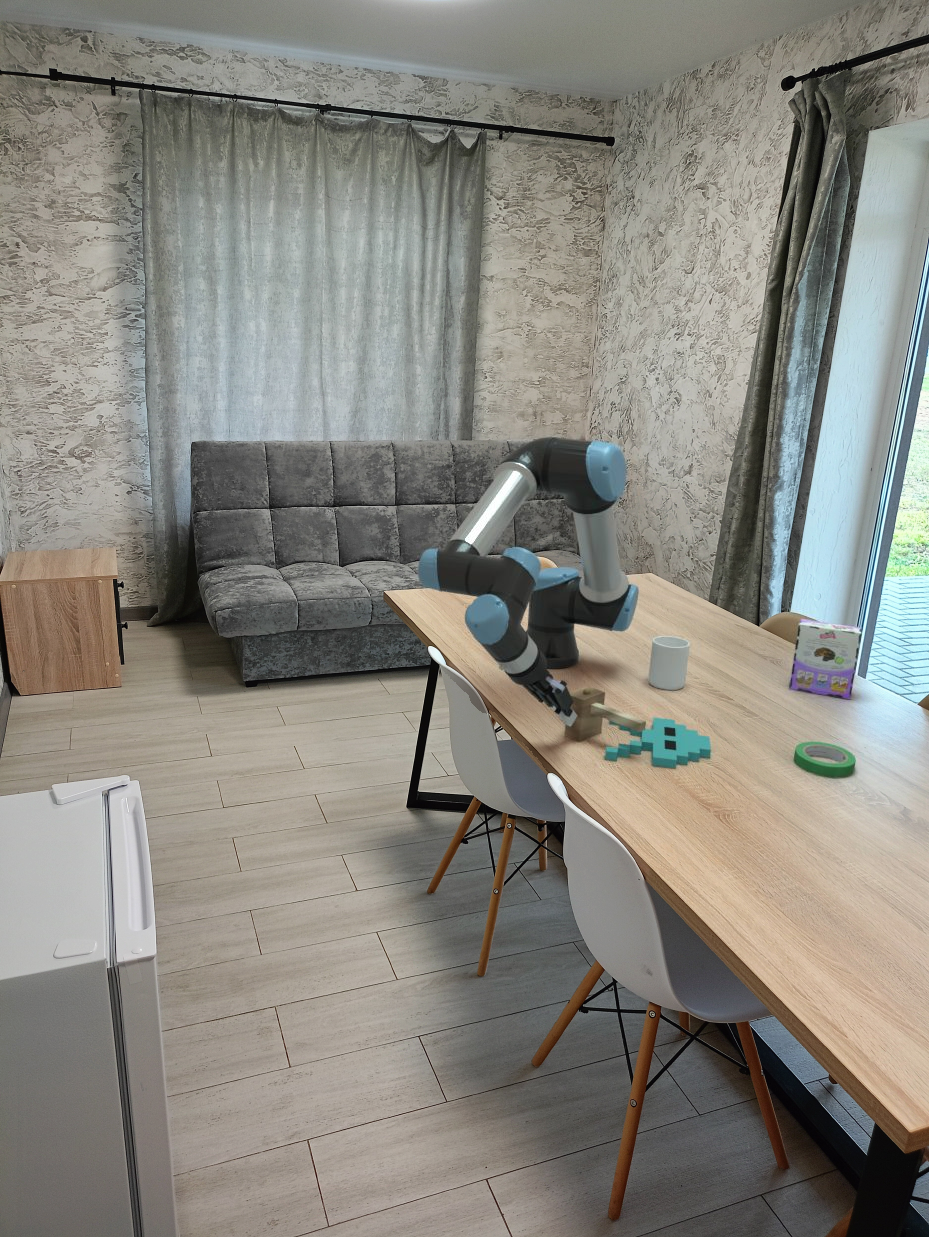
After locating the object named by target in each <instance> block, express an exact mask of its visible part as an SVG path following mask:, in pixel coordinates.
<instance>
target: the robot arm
mask: <svg viewBox="0 0 929 1237" xmlns="http://www.w3.org/2000/svg"><path fill="white" fill-rule="evenodd" d="M626 473H627V464H626V459H625V455H624V453H623V451H622V449H621V448H620V447H619V445H617V444H616V443H611V442H606V441H605V442H604V441H603V440H585V439H573V438H561V437H554V436H553V437H551V436H547V437H540V438H537V439H533V440H531V441H529V442H526V443H524V444H523V445H521V446H519V447H518V448H516V449H514V450H513V451H512V452H510V453H509V454H508V455H507V456H506V457H505V458H504V459H502V461H501V462H500V463H499V465H498V466H497V467H496V469H495V471H494V473H493V481H492V482H491V484H490V485H489V486H488V487H487V489H486V490H485V492H484V493H483V495H481V497H480V498H479V500H478V501H477V503H476V504H474V506H473V508H472V510H471V511H470V512H469V513H468V515H467V516H466V517H465V519H464V520H463V522H462V523H461V524H460V526H458V528H457V530H456V531H455V533H454V534H453V535H452V537H451V538H450V540H449V541H448V542H447V543H446V544H445V545H444V547H443V548H442V549H440V548H428V549H426V550H425V551H423V553H422V554H421V556H420V559H419V562H418V567H417V575H418V576H417V577H418V578H419V579H418V580H419V583H421V585H422V586H423V587H425V588H427V589H431V590H434V591H439V592H443V593H448V594H449V593H451V594H458V595H463V596H470V597H476V598H475V599H474V600H473V601H472V603H471V604H469V605H468V606H467V607H466V610H465V613H464V623H465V625H466V627H467V628H468V631H469V632H470V634H472V636H473V638H474V640H476V641H477V642H478V644H480V645H481V646H482V647H483V649H485V651H486V652H487V653H488V654H489V655H490V656H491V658H493V660H494V661H495V662H496V664H498V669H499V670H501V671H504V672H505V674H506V675H507V676H508V677H509V679H510V680H511V681H512V682H513V683H514V684H516V685H518V686H522V687H523V688H524V689H525V690H527V692H528V693H530V695H531V696H533V698H535V699H536V700H537V701H538V702H539V703H542V704H543V703H544V704H545V705H546V706H547V707H548V708H551V709H552V712H554V713H555V715H556V716H557V717H558V718H559V719H560V720H561V722H562V723H563V724H564V725H568V726H570V727H571V726H572V724H573V722H574V721H575V719H576V717H577V716H578V715H577V714H576V713H575V712H574V710H573V709H572V708H571V705H572V704H573V702H574V701H573V699H572V697H571V695H570V693H571V692H570V691H569V689H568V687H567V686H568V684H567V682H566V681H565V680H561V681H560V680H558V681H556V680H555V679H554V676H553V674H551V672H550V671H549V670H548V669H564V668H570V667H573V666H575V665H577V664H578V663H579V660H580V659H579V658H580V651H579V648H578V644H577V640H576V635H575V625H580V626H586V627H589V628H595V629H600V630H605V631H610V632H612V631H614V632H621V633H622V632H625V631H627V630H628V629H629V628H630V626H631V624H632V622H633V619H634V615H635V612H636V608H637V604H638V600H639V599H638V598H639V587H638V585H636V584H634V583H631V584H629V577H628V576H627V573H625V572H624V571H623V570H622V569H621V564H620V563H621V561H620V556H619V555H620V554H619V546H618V539H617V529H616V523H615V522H616V521H615V515H614V514H615V512H614V506H615V504H617V501H618V500H619V499H620V498H621V497H622V495H623V493H624V491H625V488H626V483H627V477H626ZM540 493H541V494H542V493H545V494H554V495H561V496H563V501H564V505H565V506H566V509H568V510H569V511H570V512H572V513H573V518H574V525H575V531H576V536H577V543H578V548H579V549H578V550H579V554H580V561H581V568H582V571H583V575H582V576H580V572H579V570H578V569H577V568H574V567H569V566H568V567H567V566H566V567H565V566H562V567H557V566H556V567H549V568H544V569H543V568H542V564H541V561H540V558H539V557H538V556H537V555H536V554H535V553H533V552H532V551H530V550H529V549H526V548H524V547H519V546H513V547H508V548H506V549H505V550H504V551H503V553H502V555H500V558H498V557H491V556H488V555H489V553H490V551H491V550H492V548H493V547H494V546H495V544H496V542H498V540H499V538H500V537H501V535H502V534H503V532H504V531H505V529H506V528H507V527H508V525H509V524H510V522H512V519H513V518H514V516H515V515H516V513H517V512H518V511H519V509H520V508H521V506H522V505H523V503H524V502H528V501H530V500H531V499H532V498H534V496H535V495H536V494H540ZM541 568H542V569H541ZM527 608H528V615H527V616H528V617H527V628H526V629H524V627H523V626H522V621H523V619H524V616H525V613H526V610H527Z"/></svg>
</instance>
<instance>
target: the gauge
mask: <svg viewBox="0 0 929 1237" xmlns="http://www.w3.org/2000/svg"><path fill="white" fill-rule="evenodd" d="M569 693H570V695H571V697H572V699H573V701H574V702H573V704H572V705H571V708H572V709H573V710H574V712H575V713H576V714H577V715H578V716H577V717H576V719H575V721H574V722H573V724H572V726H571V727H570V726H568V725H565V724H564V725H565V726H564V737H567V738H570V739H572V740H574V741H577V742H579V743H581V742H583V741H585V740H588V739H590V738H592V737H596V736H597V735H600V734H602V729H603V719H605V720H607V721H609V722H610V721H612V722H615V723H617V724H620V725H623V726H625V727H628V728H630V729H633V730H635V731H638V732H641V731H644V730H645V729H646V728H647V727H646V726H647V721H646V720H643V719H641V718H638V717H636V716H633V715H631V714H628V713H626V712H622V711H620V710H617V709H615V708H612V707H610V706H607V705H605V699H606V698H605V697H606V691H603V690H600V689H598V688H595V687H592V686H587V687H584V688H582V689H579V690H575V691H572V692H569ZM620 725H619V726H620Z"/></svg>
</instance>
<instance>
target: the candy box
mask: <svg viewBox="0 0 929 1237" xmlns="http://www.w3.org/2000/svg"><path fill="white" fill-rule="evenodd" d="M862 629H863V628H862V627H861V626H854V625H846V624H840V623H832V622H825V621H818V620H812V619H807V618H806V619H805V618H800V621H799V623H798V626H797V633H796V634H797V636H796V642H795V647H794V655H793V660H792V667H791V675H790V680H789V686H788V689H789V690H793V691H801V692H805V693H811V694H818V695H822V696H828V697H835V698H839V699H840V698H841V699H846V700H851V698H852V692H853V691H852V690H853V687H854V680H855V675H856V669H857V666H858V658H859V653H860V646H861V639H862Z"/></svg>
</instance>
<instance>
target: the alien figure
mask: <svg viewBox="0 0 929 1237" xmlns="http://www.w3.org/2000/svg"><path fill="white" fill-rule="evenodd" d="M609 725H614V726H619V730H622V731H629V732H630V734H629V736H635V737H641V739H640V740H633V739H630V740H629V743H628V744H626V743H618V744H617V746H618V747H615V746H606V748H605V749H606V750H605V757H604V759H605V760H606V761H611V762H617V761H618V757H619V758H620V757H621V758H630V754H635V755H641V754H642V751H649V752H651V759H652V760H651V766H654V767H661V768H669V769H677V765H685V766H688V763H689V761H690V762H691V761H692V762H699V761H700V758H706V759H711V753H712V746H711V740H710V739H711V738H710V736H708V735H701V734H699V733H698V730H693V729H687V725H685V724H678V723H676V720H675V719H671V718H664V717H663V718H661V717H653V718H652V729H649V728H645V730H644V731H641V732H638V731H635V730H633V729H630V728H628V727H625V726H623V725H620V724H617V723H615V722H612V721H610V720H609Z"/></svg>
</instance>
